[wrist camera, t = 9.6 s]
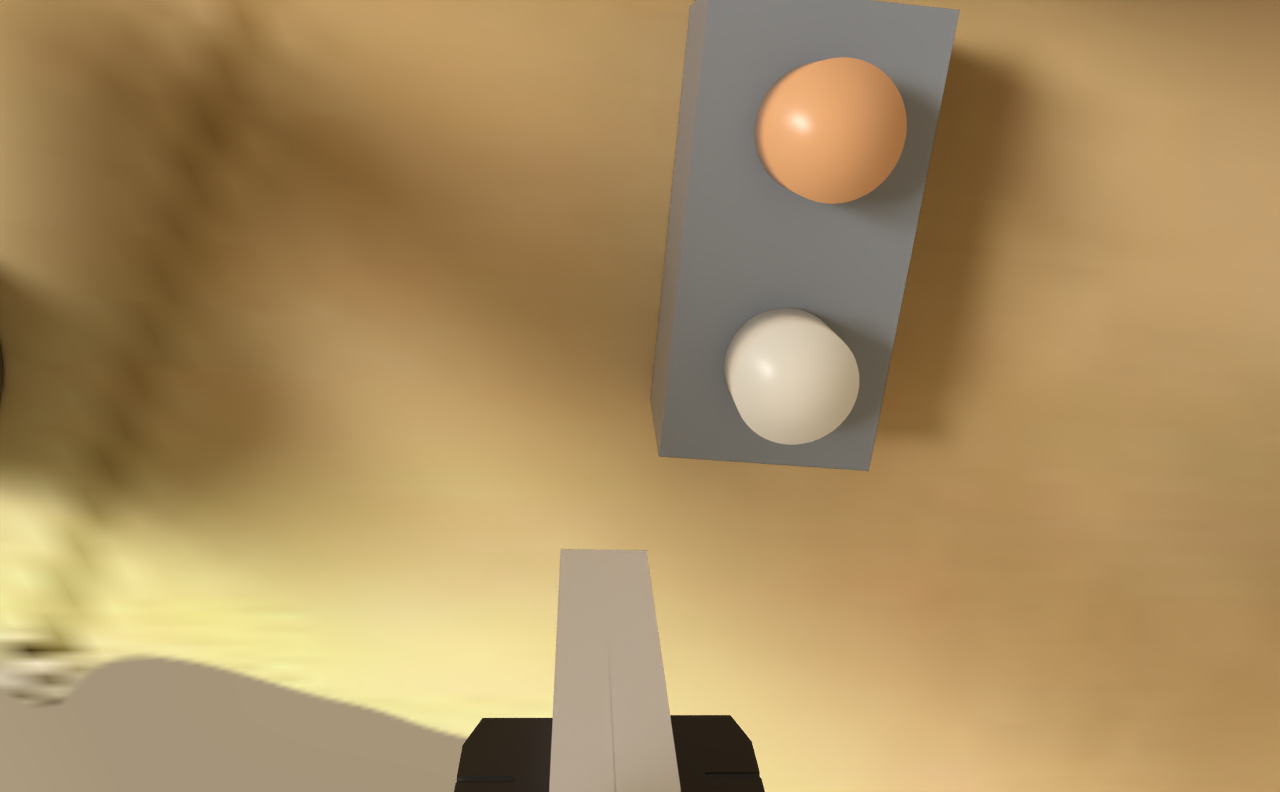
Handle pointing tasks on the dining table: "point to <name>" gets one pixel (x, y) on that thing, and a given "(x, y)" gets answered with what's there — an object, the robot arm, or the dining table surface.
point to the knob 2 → (791, 376)
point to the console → (785, 219)
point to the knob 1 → (831, 129)
